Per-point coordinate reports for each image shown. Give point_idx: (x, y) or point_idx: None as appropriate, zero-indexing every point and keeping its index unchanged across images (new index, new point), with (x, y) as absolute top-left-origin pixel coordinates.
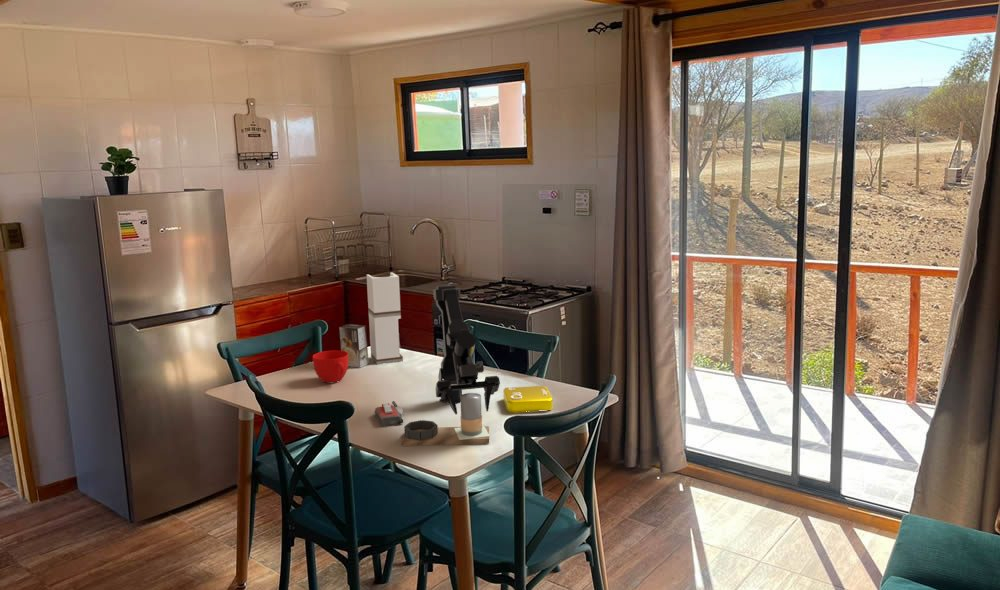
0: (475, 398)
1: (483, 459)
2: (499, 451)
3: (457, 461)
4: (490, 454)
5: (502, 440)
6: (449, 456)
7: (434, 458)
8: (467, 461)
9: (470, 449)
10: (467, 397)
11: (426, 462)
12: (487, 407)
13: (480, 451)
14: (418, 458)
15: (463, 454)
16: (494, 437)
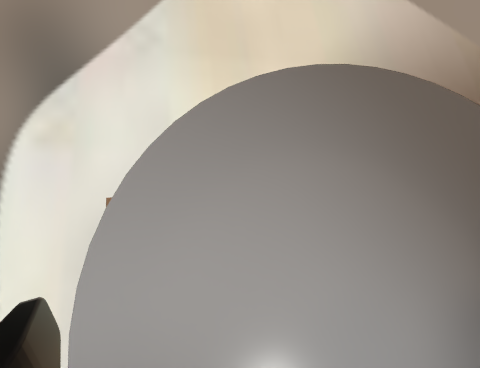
0: (229, 121)
1: (149, 16)
2: (55, 97)
3: (271, 8)
4: (111, 65)
5: (14, 264)
6: (319, 58)
7: (381, 44)
8: (225, 4)
9: None
10: (443, 210)
11: (402, 11)
12: (18, 321)
13: (167, 103)
14: (449, 49)
15: (254, 74)
16: (69, 323)
